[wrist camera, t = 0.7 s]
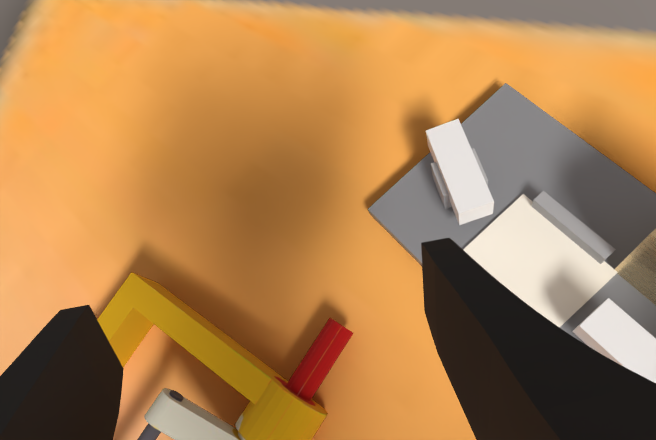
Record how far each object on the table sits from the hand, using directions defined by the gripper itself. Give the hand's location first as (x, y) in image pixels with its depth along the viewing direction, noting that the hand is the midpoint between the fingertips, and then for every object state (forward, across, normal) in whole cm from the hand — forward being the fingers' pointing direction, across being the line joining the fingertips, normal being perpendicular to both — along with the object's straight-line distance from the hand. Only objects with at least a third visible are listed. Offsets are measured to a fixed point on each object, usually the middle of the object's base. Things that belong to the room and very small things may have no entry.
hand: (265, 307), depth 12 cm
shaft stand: (+12, -14, +12) cm, 22 cm away
